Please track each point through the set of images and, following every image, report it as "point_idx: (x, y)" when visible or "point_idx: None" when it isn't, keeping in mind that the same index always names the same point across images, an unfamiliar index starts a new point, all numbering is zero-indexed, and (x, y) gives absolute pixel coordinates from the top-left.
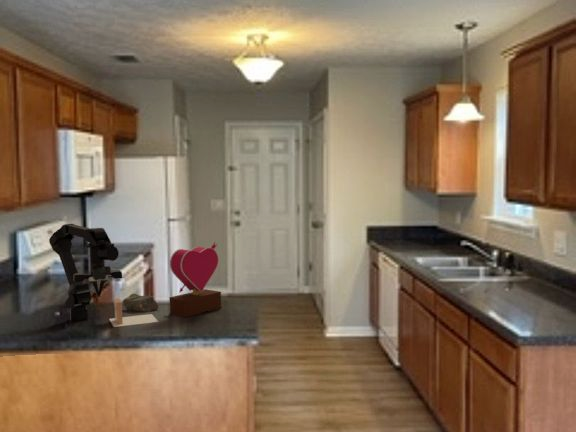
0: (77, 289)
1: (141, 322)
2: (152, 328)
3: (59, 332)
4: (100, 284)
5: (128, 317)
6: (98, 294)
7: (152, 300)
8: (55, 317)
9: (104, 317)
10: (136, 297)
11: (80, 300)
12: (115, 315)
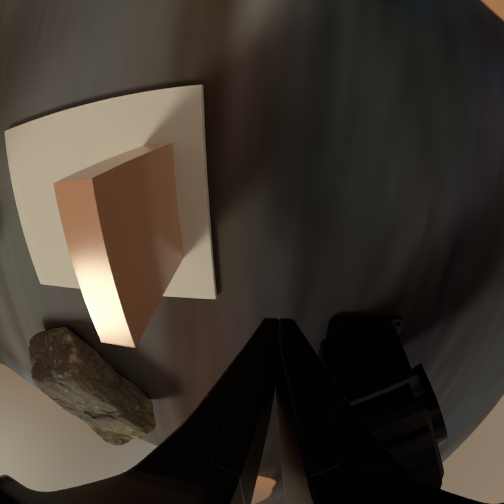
0: (421, 472)
1: (56, 138)
2: (35, 33)
3: (489, 161)
4: (221, 487)
5: None
6: (284, 337)
7: (36, 366)
8: None
9: (236, 348)
10: (95, 417)
11: (393, 399)
12: (168, 243)
